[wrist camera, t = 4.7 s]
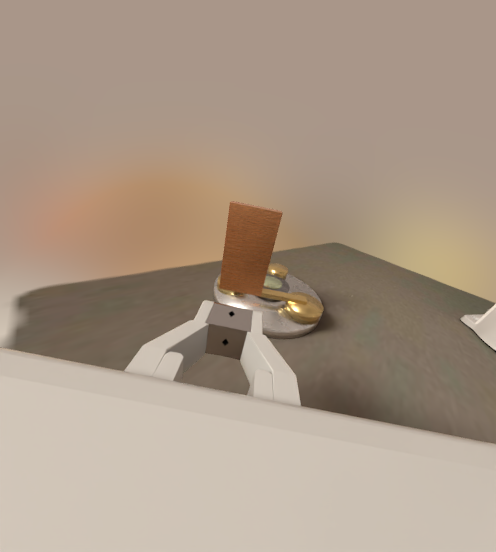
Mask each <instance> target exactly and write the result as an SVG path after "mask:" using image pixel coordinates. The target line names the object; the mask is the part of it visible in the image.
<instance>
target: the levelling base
mask: <svg viewBox="0 0 496 552" xmlns="http://www.w3.org/2000/svg"><path fill="white" fill-rule="evenodd" d="M287 273H288V269H287V268H286V267H285V266H283V265H280V264H275V263H273V264H270V265H269V268H268V271H267V274H266V278H265V282H264V286H263V288H265V289H270V290H275V291H280V292H285V293H292V292H302V293H306V294H309V295H311V296H313V297H315V298H316V299H318V300H319V301H320V302H321V300H320V299H319V297H318V295H317V294H316V293H315V292H314V291H313V290H312V289H311V288H310V287H309V286H308V285H306V284H305V283H304V282H302V281H301V280H299V279H297V278H295V277H293V276H291V275H289V274H287ZM220 277H221V274H220V275H219V276H218V277H217V279H216V281H215V284H214V293H213V297H214V302H217V303H221V304H225V305H230V306H234V307H238V308H243V309H248V310H256V311H261V312H263V335H266V337H267V338H274V339H292V338H297V337H301V336H304V335H306V334H308V333H310V332H311V331H312V330H313V329H314V328H315V327H316V326H317V324H318V322H319V321H318V322H317V323H316V324H312V325H306V324H302V323H299V322H296V321H295V320H293V319H291V318H290V317H289V316H288V315H287V314H286V312H285V310H284V306H285V303H286V302H285V301H280V300H275V299H270V298H265V297H260V296H255V295H250V294H245V293H240V292H235V291H230V290H225V289H220V288H219V285H220ZM321 315H322V314H321ZM320 318H321V316H320ZM320 318H319V320H320Z"/></svg>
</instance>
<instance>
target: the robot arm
mask: <svg viewBox="0 0 496 552" xmlns="http://www.w3.org/2000/svg"><path fill="white" fill-rule="evenodd" d="M460 320H461V321H462V322H464V323H465V324H466V325H468V326H469V327H470V328H472V329H473V330H474V331H475V332H476V333H477V335H478V336H479V337H480V338H481V339H482V340H483V341H484V342H485V343H487V344H488V345H489V346H490V347H492V348H493V349H494V350H496V304H495V305H494V306H493V307H492V308H491V309H490V310H489V311H487V312H486V313H485V314H483V315H464V316H463V317H462V318H461V319H460ZM205 353H208V354H214V355H220V356H225V357H229V358H234V359H238V360H240V362H241V364H242V367H243V369H244V371H245V374H246V376H247V379H248V381H249V383H250V388H249V391H248V394H247V395H242V394H237V393H232V392H227V391H222V390H216V389H211V388H206V387H201V386H196V385H191V384H186V383H182V375H183V373H184V372H186V371H187V370H188V369H189V368H190V367H191V366H192V365H193V364H194V363H196V362H197V361H198V360H199V359H200V358H201V357H202V356H203V355H205ZM0 552H496V444H493V443H488V442H483V441H478V440H472V439H467V438H462V437H457V436H452V435H447V434H442V433H437V432H431V431H426V430H421V429H416V428H411V427H406V426H401V425H396V424H391V423H385V422H380V421H375V420H370V419H365V418H360V417H355V416H350V415H345V414H340V413H334V412H329V411H324V410H319V409H314V408H309V407H304V406H301V403H300V397H299V391H298V385H297V379H296V375H295V374H294V373H293V371H292V370H291V369H290V367H289V366H288V365H287V363H286V362H285V361H284V359H283V358H282V357H281V355H280V354H279V353H278V351H277V350H276V349H275V347H274V346H273V345H272V343H271V342H270V341H269V339H268V338H267V337H266V335H263V312H261V311H256V310H248V309H243V308H238V307H234V306H230V305H225V304H221V303H217V302H212V301H207V300H204V301H203V303H202V305H201V307H200V309H199V311H198V313H197V315H196V317H195V319H194V321H192V320H190V321H188V322H186V323H184V324H182V325H180V326H179V327H177V328H175V329H173V330H171V331H169V332H167V333H165V334H163V335H162V336H160V337H158V338H156V339H154V340H152V341H150V342H148V343H146V344H144V345H143V346H142V348H141V349H140V350H139V352H138V353H137V354H136V356H135V357H134V358H133V360H132V361H131V362H130V364H129V365H128V367H127V368H126V369H125V371H119V370H114V369H109V368H104V367H99V366H94V365H88V364H83V363H78V362H73V361H68V360H63V359H58V358H53V357H47V356H42V355H37V354H32V353H27V352H22V351H17V350H12V349H6V348H1V347H0Z"/></svg>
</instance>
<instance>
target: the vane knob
mask: <svg viewBox="0 0 496 552" xmlns="http://www.w3.org/2000/svg"><path fill="white" fill-rule="evenodd" d="M281 217H282V211H278V210H274V209H268V208H264V207H259V206H254V205H249V204H244V203H239V202H234V201H231V202H230V207H229V215H228V222H227V231H226V238H225V246H224V254H223V261H222V269H221V277H220V285H219V288H220V289H225V290H230V291H235V292H240V293H245V294H250V295H255V296H260V297H265V298H270V299H275V300H280V301H285V302H286V303H285V306H284V310H285V312H286V314H287V315H288V316H289V317H290V318H291V319H293V320H295V321H296V322H299V323H302V324H306V325H312V324H316V323H317V322H318V321H319V318H320V316H321V314H322V312H323V310H324V308H323V305H322V303H321V302H320V301H319V300H318V299H316V298H315V297H313V296H311V295H309V294H306V293H302V292H292V293H285V292H280V291H275V290H270V289H265V288H263V286H264V282H265V278H266V274H267V271H268V267H269V263H270V259H271V255H272V251H273V248H274V244H275V240H276V236H277V232H278V228H279V224H280V220H281Z"/></svg>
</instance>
